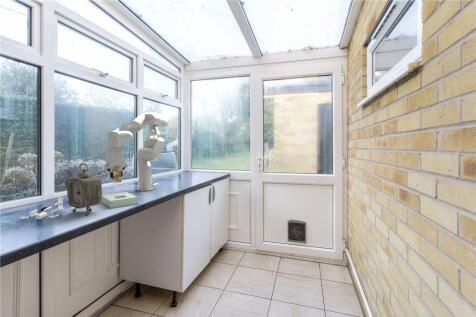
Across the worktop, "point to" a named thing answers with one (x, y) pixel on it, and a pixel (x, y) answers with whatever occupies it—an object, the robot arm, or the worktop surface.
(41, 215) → the miniature set
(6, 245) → the worktop surface
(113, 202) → the board
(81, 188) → the tabletop clock
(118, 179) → the oak post
